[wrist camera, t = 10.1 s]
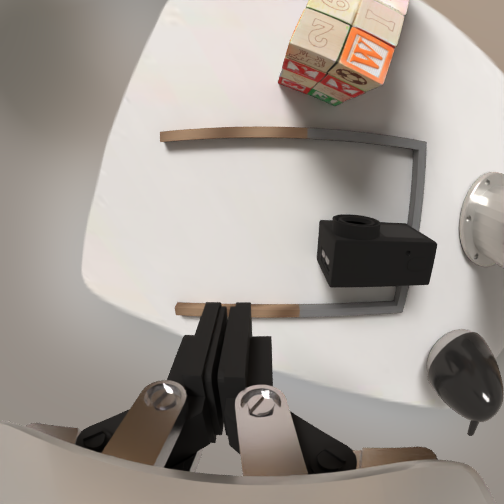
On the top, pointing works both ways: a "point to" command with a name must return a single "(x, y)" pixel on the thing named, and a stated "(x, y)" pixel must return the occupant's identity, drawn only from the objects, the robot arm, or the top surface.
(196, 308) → the shelf lane
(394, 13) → the stack of blocks
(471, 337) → the black rounded mouse
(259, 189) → the top surface
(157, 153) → the top surface
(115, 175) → the top surface
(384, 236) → the digital camera
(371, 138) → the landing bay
